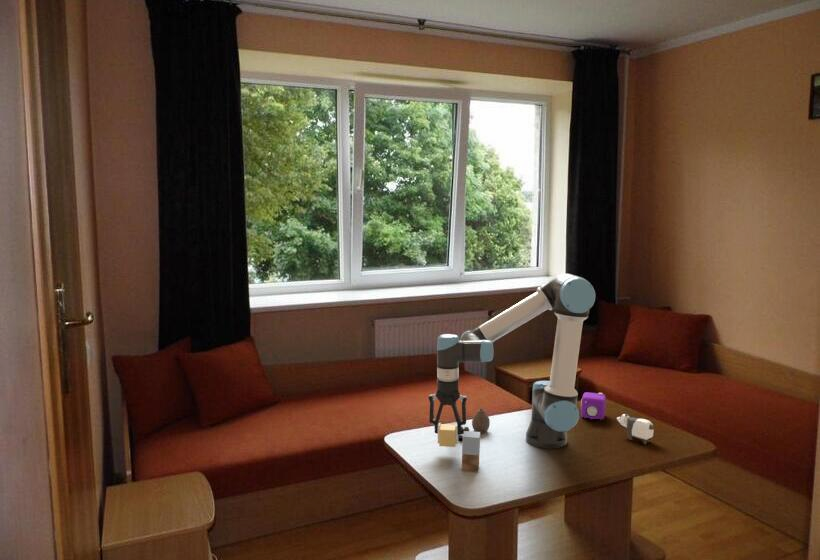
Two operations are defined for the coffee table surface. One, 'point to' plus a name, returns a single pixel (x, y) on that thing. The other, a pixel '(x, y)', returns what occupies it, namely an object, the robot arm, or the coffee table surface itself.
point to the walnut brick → (470, 462)
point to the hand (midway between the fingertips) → (447, 442)
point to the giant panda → (637, 427)
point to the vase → (480, 421)
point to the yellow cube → (447, 435)
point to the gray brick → (471, 443)
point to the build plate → (460, 437)
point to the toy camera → (593, 405)
